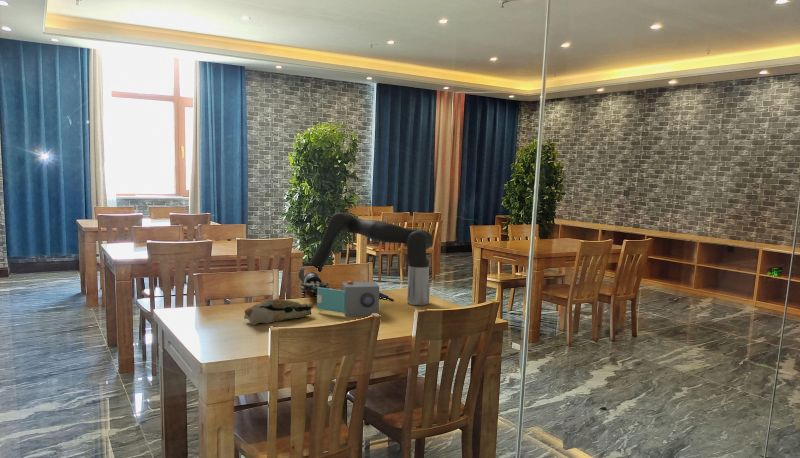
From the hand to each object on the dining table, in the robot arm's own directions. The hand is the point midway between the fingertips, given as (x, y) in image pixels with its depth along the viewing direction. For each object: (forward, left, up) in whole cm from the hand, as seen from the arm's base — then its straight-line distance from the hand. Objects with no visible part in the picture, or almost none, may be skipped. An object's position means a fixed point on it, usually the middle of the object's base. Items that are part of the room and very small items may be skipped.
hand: (317, 290), depth 238 cm
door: (-4, +14, -6) cm, 16 cm away
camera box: (-17, +13, -7) cm, 22 cm away
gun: (-25, -14, -8) cm, 30 cm away
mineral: (+16, +20, -7) cm, 27 cm away
